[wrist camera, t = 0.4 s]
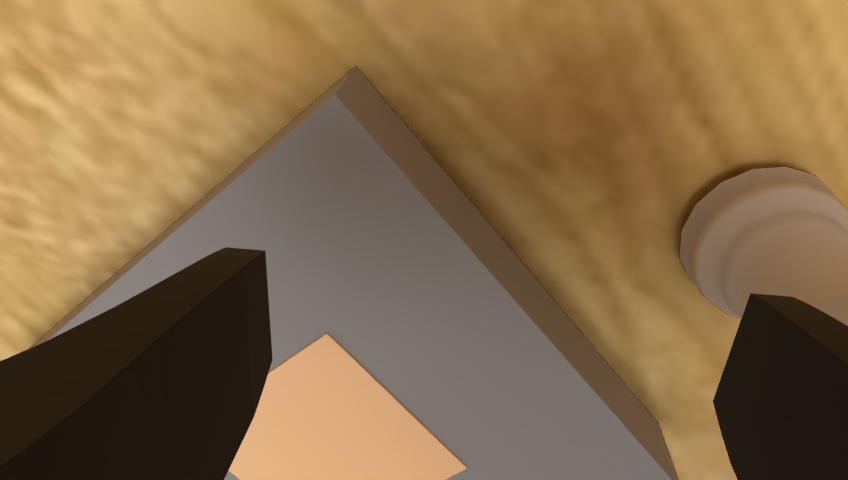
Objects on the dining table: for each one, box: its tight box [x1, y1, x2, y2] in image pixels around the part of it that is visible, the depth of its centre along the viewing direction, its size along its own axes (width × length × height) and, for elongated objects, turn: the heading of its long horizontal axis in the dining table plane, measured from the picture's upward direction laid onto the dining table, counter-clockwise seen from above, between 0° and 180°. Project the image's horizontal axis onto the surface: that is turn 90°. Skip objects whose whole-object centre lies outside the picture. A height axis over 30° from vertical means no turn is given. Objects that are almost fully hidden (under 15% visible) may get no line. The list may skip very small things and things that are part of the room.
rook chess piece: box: [680, 167, 848, 326], centre depth 15 cm, size 4×4×8 cm
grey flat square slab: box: [29, 66, 679, 480], centre depth 21 cm, size 16×16×3 cm
